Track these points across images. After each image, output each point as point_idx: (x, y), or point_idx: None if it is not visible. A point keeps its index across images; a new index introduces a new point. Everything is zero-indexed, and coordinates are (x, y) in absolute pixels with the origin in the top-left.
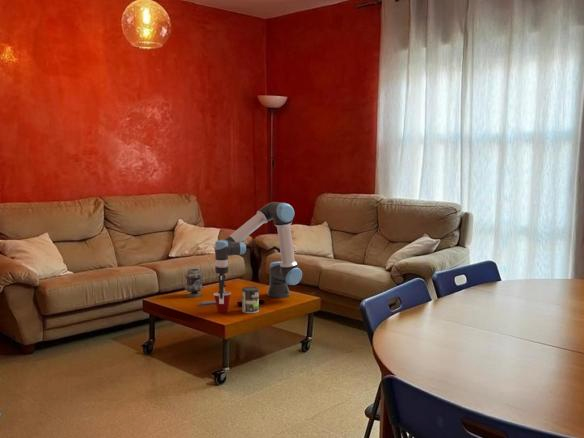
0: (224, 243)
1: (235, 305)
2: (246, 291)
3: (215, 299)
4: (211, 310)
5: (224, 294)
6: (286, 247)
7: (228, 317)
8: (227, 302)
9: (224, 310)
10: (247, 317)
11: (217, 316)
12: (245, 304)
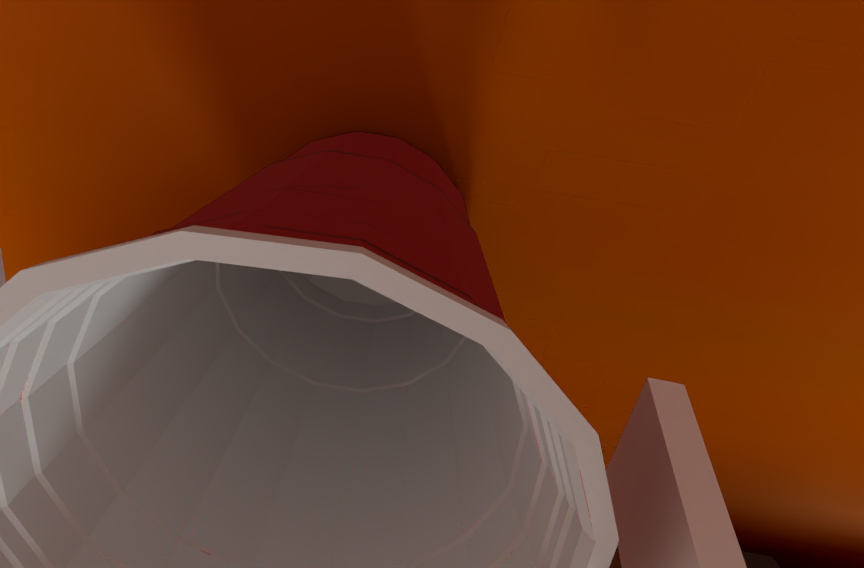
0: None
1: (742, 491)
2: None
3: (248, 212)
4: (583, 5)
5: (516, 557)
6: None
7: (6, 261)
8: (201, 444)
9: (248, 272)
10: None
11: (70, 73)
12: None
